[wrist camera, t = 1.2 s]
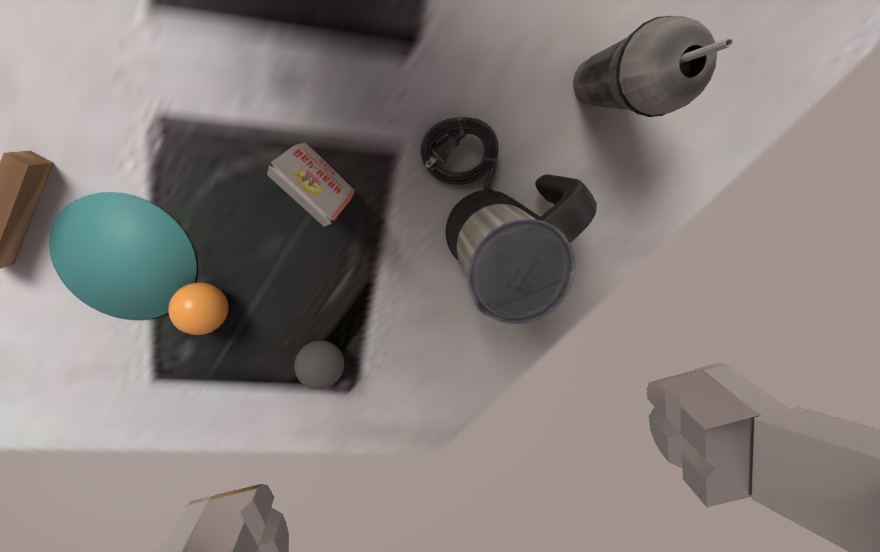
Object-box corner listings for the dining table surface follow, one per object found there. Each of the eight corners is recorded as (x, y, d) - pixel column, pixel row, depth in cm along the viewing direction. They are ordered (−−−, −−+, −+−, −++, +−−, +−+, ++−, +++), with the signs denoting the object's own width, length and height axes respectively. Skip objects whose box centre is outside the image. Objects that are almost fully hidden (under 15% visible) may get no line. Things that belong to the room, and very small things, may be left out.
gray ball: (291, 360, 51) (280, 386, 46) (313, 324, 50) (304, 347, 45) (332, 378, 53) (326, 406, 48) (354, 344, 51) (351, 369, 46)
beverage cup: (606, 129, 46) (755, 133, 28) (548, 102, 45) (665, 87, 26) (639, 60, 44) (824, 14, 26) (580, 29, 43) (731, -44, 24)
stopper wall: (-9, 253, 43) (-36, 262, 40) (30, 150, 40) (3, 152, 38) (13, 263, 44) (-13, 273, 41) (52, 162, 41) (28, 165, 38)
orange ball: (174, 306, 47) (149, 329, 42) (195, 266, 46) (171, 284, 41) (222, 328, 49) (203, 352, 44) (243, 290, 48) (226, 310, 42)
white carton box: (331, 214, 46) (317, 237, 37) (281, 168, 44) (253, 180, 34) (355, 190, 45) (347, 208, 36) (306, 142, 43) (284, 147, 34)
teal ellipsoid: (31, 280, 44) (30, 281, 44) (78, 164, 41) (77, 165, 41) (166, 339, 48) (165, 340, 48) (218, 237, 45) (217, 238, 45)
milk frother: (495, 282, 51) (536, 341, 37) (378, 219, 47) (374, 260, 33) (563, 177, 48) (635, 199, 34) (443, 99, 43) (470, 88, 29)
